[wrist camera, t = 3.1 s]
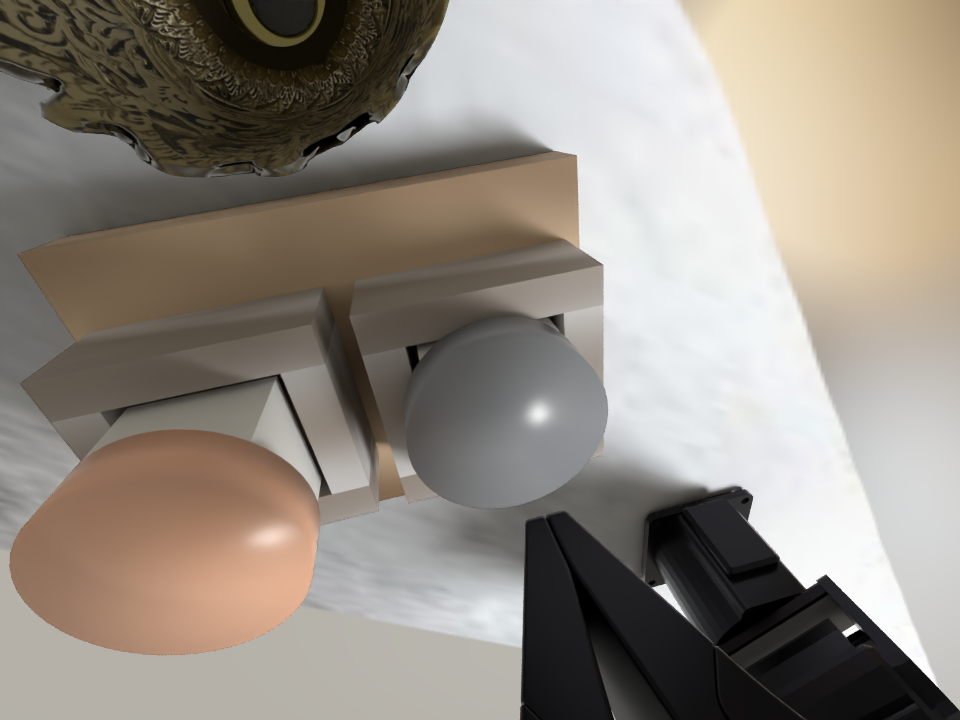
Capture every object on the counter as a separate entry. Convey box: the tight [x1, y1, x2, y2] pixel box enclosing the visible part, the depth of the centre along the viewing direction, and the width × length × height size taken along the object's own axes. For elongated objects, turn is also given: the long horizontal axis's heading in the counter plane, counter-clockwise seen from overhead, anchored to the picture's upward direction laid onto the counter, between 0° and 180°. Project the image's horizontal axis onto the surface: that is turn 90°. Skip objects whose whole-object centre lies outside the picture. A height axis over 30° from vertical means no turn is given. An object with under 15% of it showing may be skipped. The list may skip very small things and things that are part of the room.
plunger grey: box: [404, 316, 608, 509], centre depth 14 cm, size 6×6×4 cm
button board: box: [18, 151, 603, 525], centre depth 15 cm, size 12×16×5 cm
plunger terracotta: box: [10, 376, 321, 655], centre depth 11 cm, size 6×6×4 cm
